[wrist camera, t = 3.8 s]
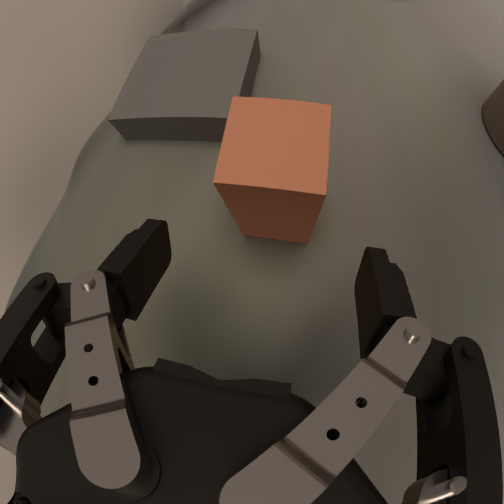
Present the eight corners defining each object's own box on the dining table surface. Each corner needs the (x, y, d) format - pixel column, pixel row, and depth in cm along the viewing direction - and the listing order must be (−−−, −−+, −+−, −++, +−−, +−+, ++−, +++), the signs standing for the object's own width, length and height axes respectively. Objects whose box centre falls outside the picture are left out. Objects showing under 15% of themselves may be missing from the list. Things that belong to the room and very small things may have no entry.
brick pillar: (253, 177, 22) (232, 96, 13) (312, 184, 22) (330, 105, 12) (243, 235, 22) (213, 182, 12) (306, 243, 21) (326, 195, 11)
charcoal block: (162, 60, 26) (150, 36, 23) (260, 57, 25) (257, 29, 21) (127, 141, 25) (107, 120, 21) (240, 145, 23) (233, 118, 20)
